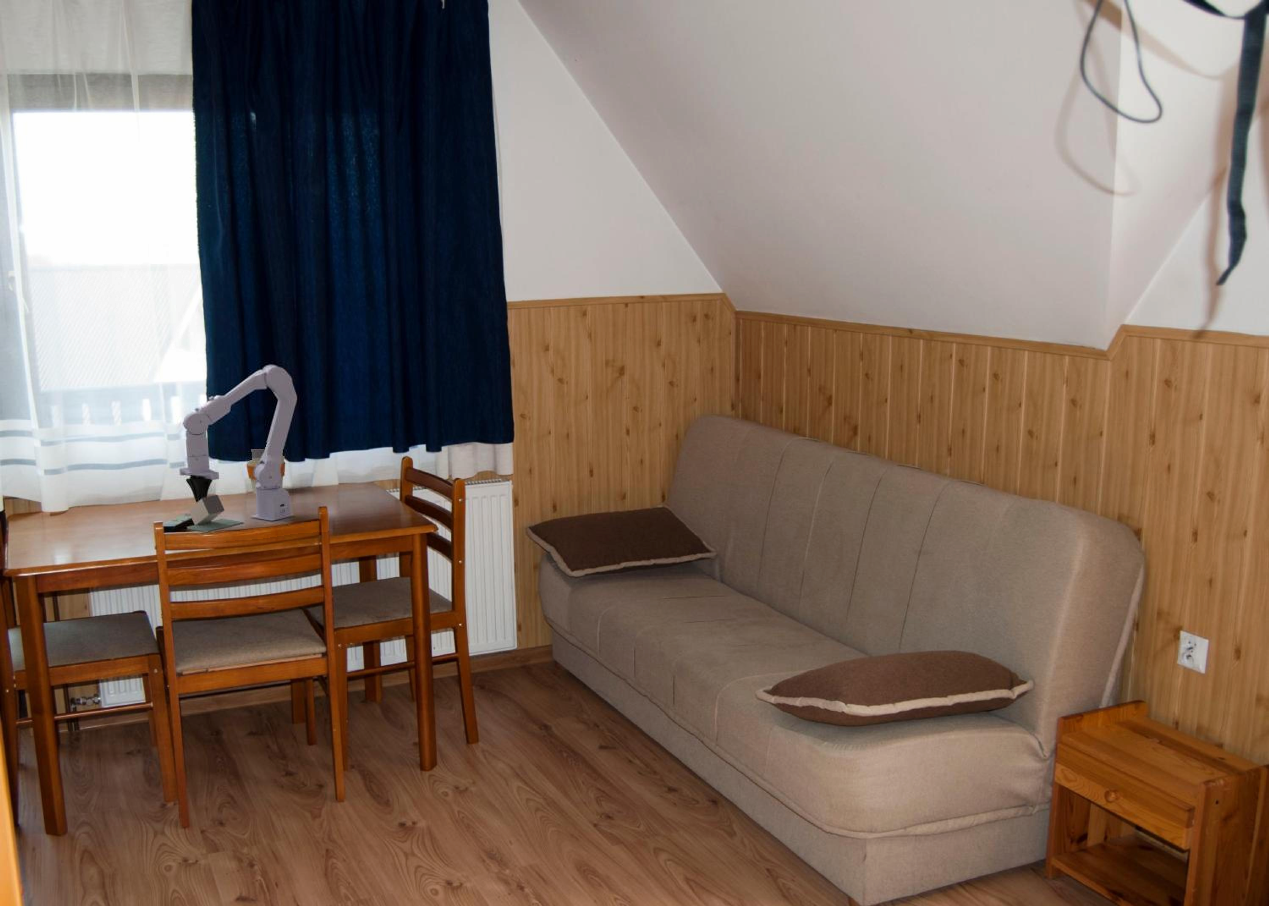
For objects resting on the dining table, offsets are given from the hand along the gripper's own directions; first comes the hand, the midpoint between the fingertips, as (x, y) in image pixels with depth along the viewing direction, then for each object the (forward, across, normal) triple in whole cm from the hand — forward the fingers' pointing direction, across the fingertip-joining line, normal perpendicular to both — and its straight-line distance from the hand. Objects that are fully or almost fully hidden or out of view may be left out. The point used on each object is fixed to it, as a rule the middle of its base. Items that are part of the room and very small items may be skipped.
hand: (201, 502), depth 329 cm
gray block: (+4, -1, 0) cm, 4 cm away
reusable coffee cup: (+6, -20, +41) cm, 46 cm away
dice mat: (+6, +5, 0) cm, 8 cm away
